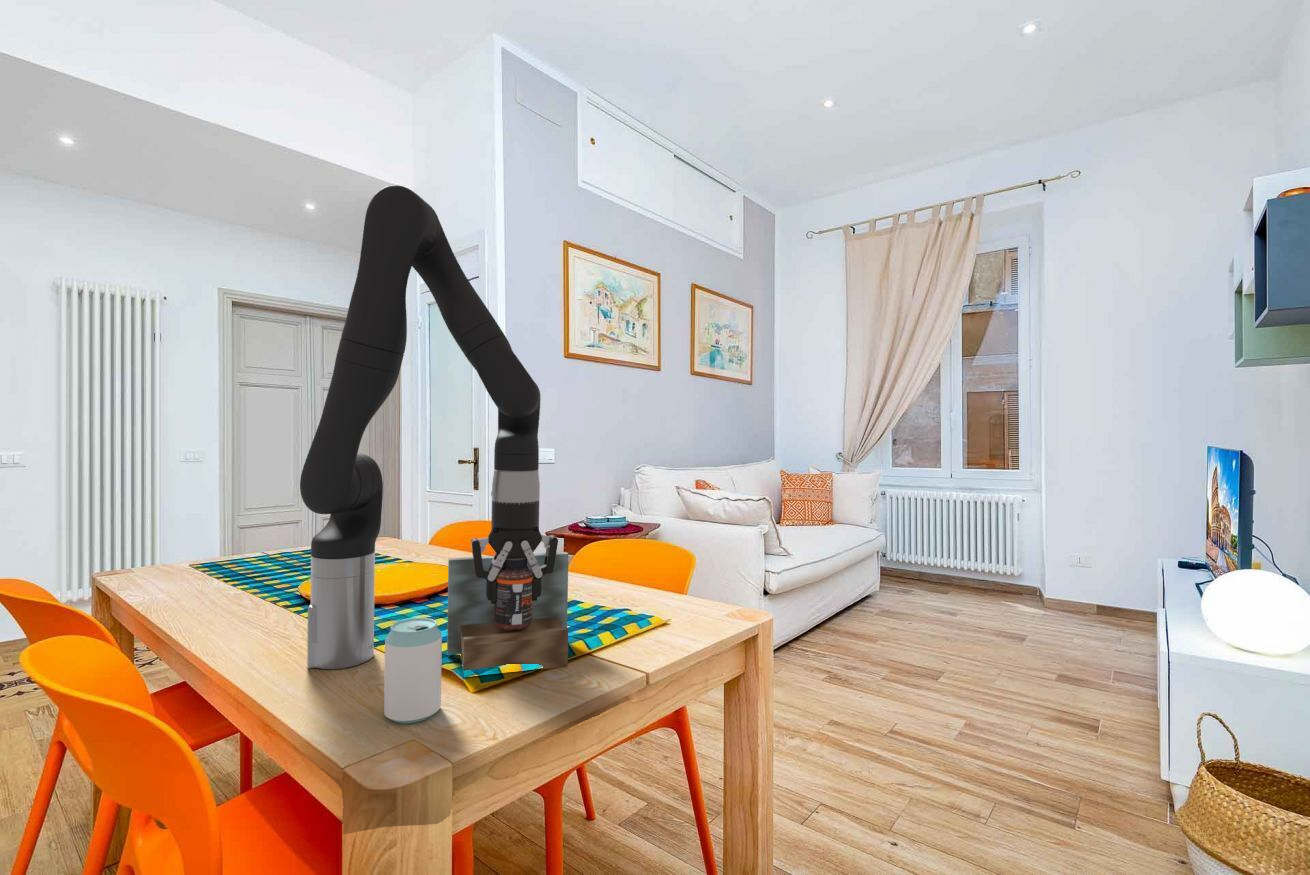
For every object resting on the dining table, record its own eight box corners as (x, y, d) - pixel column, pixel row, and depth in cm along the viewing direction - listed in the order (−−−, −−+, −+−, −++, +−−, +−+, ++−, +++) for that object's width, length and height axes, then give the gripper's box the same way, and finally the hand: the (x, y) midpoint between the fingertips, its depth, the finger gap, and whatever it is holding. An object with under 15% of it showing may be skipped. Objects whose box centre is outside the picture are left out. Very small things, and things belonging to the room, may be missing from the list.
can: (445, 700, 87) (447, 615, 86) (434, 725, 80) (435, 632, 79) (393, 702, 86) (394, 616, 85) (376, 727, 79) (377, 633, 78)
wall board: (449, 680, 93) (451, 574, 93) (447, 653, 104) (448, 558, 103) (579, 664, 100) (581, 566, 100) (564, 641, 111) (566, 552, 110)
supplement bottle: (527, 632, 98) (528, 561, 97) (489, 631, 98) (490, 560, 97) (535, 620, 104) (536, 553, 103) (500, 619, 104) (501, 552, 103)
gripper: (471, 501, 94) (469, 611, 95) (564, 499, 99) (562, 604, 100) (467, 495, 101) (466, 598, 102) (555, 494, 106) (553, 591, 107)
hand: (513, 600), depth 101 cm, fingers closed on supplement bottle, 6 cm apart
